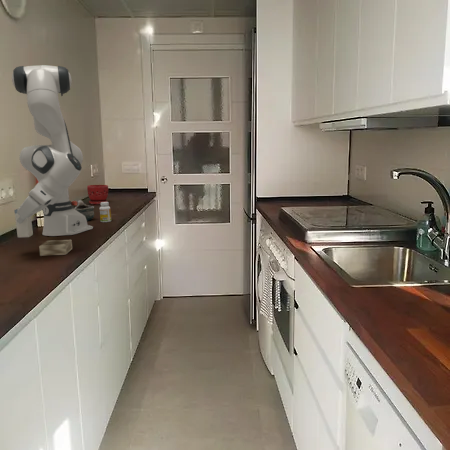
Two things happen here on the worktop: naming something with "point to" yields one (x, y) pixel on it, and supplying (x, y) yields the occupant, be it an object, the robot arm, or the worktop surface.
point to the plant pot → (97, 197)
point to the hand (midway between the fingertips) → (21, 220)
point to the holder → (55, 247)
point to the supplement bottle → (105, 212)
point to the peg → (23, 226)
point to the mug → (85, 210)
